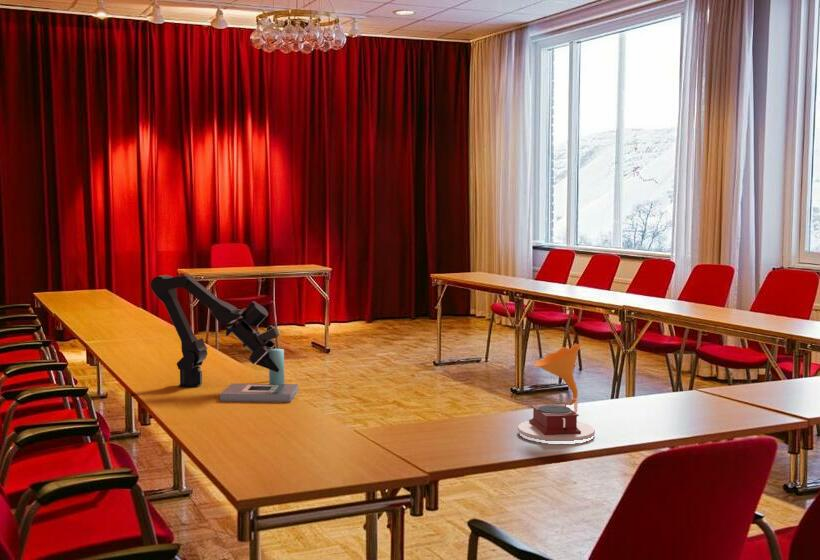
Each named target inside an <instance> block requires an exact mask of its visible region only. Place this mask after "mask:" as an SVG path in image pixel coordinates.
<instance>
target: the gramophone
mask: <svg viewBox="0 0 820 560" xmlns="http://www.w3.org/2000/svg"><path fill="white" fill-rule="evenodd" d="M582 346H583V342H581V343H577V342H575V343H574V344H573V345H572V346H571V347H570V348H568V347H564V346H561V347H560V348H559V349H558V350H557V351H556V352H552V353H551V352H550V353H546V355H545V356H544V357H543V359H538V360H537V359H536V360H535V363H534V364H532V366H533V367H539V368H540V369H542V370H544V371H546V372H548V373H550V374H553V375H555V376H557V377H558V378H561V379H562V380H563V382H564V383H565V384H566V385H567V386H568V387H569V388H568V389H570V390H571V393H572V397H571V402H569V403H567V401H564V404H563V403H561V404H538V405H537V404H533V405H531V407H532V409H533V412H532V418H531V419H529V420H526V421H522V422H521V423H519V424H518V426H517V432H518V431H519V433H521V434H523V435H525V436H527V437H530V438H534V439H539V440H545V441H574V440H583V439H588V438H591V437H592V436H594V434H596V433H595V432H596V431H595V430H596V429H595V428H594V426H592V425H590V424H588V423H585V422H582V421H578V420H577V419H578V417H579V416H580V414H578V413H577V412H578V401H579V399H578V394H579V392H578V388H577V385H576V382H575V379H574V375H573V373H574V367H575V364H576V361H577V357H578V354H579V353H578V352H579V351H580V349H581V347H582ZM572 405H573V408H574V410H572V409H571V408H570V407H568V406H572Z"/></svg>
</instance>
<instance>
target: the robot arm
mask: <svg viewBox="0 0 820 560" xmlns="http://www.w3.org/2000/svg"><path fill="white" fill-rule="evenodd" d="M177 288H183V289H185V290H186V291H187V292H188V293H189V294H191V295H192V296H193V297H194V298H196V300H198V301H199V302H200V303H201V304H203V305H204V306H205V307H207V309H209V311H210V313H211V314H212V316H213V317H214V318H215V319H216V321H218V323H219V324H221V325H229V324H232V325H230V326H226V328H225V336H226V337H229V336H230V335H231V334H233V335H234V336H235V337H236V338H237V339H238V340H239V341H240V342H241V343H242V346H243V347H244V348H245V347H246V348H247V350H249V351H250V352H251V353H250V356H248V358H249V359H248V361H249V362H250V363H251V364H252V365H256V366H260V367H263V368H265V369H267V370H269V369H270V370H272V371H275V372H278V371H279V368H278V367H277V365H276V364H275V363H274V361H273V360H272V359H271V357H270V349H277V342H276V341H275V340H274V339H276V338H278V337H279V336H280V333H279V329H278V328H277V327H276V326H273V325H269V326H267V327H266V331H263V332H262V333H261V332H260V331H255V330H254V328H253V327H258V326H259V325H260V324H261V323H262V322H263V321H264V320H265V319H266V317H268V316H269V312H268V310H267V309H266V308H265V307H264V306H262V305H261V304H259V303H257V302H256V301H255V300H254V301H251V302H249V305H248V306H247V307H246V308H245V309H244V310H243V309H238V308H237V307H236V306H234V305H233V304H230V303H229V302H226V301H225V300H222V299H220V298H218V297H217V296H216V295H215V294H213V293H212V292H211V291H210V290H209V289H207V288H206V287H205V286H204V285H202V284H201V283H200V282H198V281H197V280H196V279H195V278H194V277H193V276H192V275H191V274H184V275H178V276H171V275H168V274H163V275H158V276H155V277H153V278H152V280H151V282H150V289H151V290H152V292H153V294H154V295H155V296H156V298H158V299H159V301H161V302H162V303H163V306H164V307H165V309H166V311H167V314H168V316H169V318H170V319H171V322H172V325H173V326H174V329H175V331H176V332H177V333H176V334H177V335H178V337H179V340H180V343H181V344H180V345H181V349H180V350H181V355H182V357H181V358H180V359H179V360H178V361H177V362H176V366H177V369H178V370H179V385H178V388H179V387H180V388H194V387H195V388H198V387H200V386H201V385H202V384H203V371H202V370H201V366H203V362H204V361H205V360H206V359H207V356H208V346H206V344H205V341H204V338H202V337H201V338H198V337H197V336H196V335H195V334H194V332H193V330H192V327H191V325H190V323H189V321H188V319H187V317H186V315H185V312H184V311H183V308H182V306H181V303H180V302H179V299H178V292H177V291H178V289H177ZM239 319H241V320H239ZM237 320H239V321H237Z"/></svg>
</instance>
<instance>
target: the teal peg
mask: <svg viewBox="0 0 820 560" xmlns="http://www.w3.org/2000/svg"><path fill="white" fill-rule="evenodd" d="M270 357H271V359H272V360H273V361H274V363H275V364H276V365H277V367H278V368H279V371H278V372H275V371H272V370H270V369H268V377H269V378H268V379H269V381H268V384H285V349H284V348H276V349H270Z"/></svg>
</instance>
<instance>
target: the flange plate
mask: <svg viewBox="0 0 820 560" xmlns="http://www.w3.org/2000/svg"><path fill="white" fill-rule="evenodd" d="M297 394H299V384H298V383H284V384H269V383H237V382H236V383H231V384H230V385H228V386H227V387H226V388H225V389H224V390H223V391H222V392H220V393H219V402H220V403H223V402H227V403H231V402H232V403H291V402H292V400H293V399H294V398H295V397H296V395H297Z"/></svg>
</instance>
